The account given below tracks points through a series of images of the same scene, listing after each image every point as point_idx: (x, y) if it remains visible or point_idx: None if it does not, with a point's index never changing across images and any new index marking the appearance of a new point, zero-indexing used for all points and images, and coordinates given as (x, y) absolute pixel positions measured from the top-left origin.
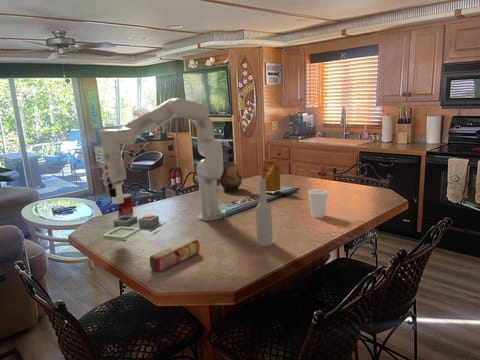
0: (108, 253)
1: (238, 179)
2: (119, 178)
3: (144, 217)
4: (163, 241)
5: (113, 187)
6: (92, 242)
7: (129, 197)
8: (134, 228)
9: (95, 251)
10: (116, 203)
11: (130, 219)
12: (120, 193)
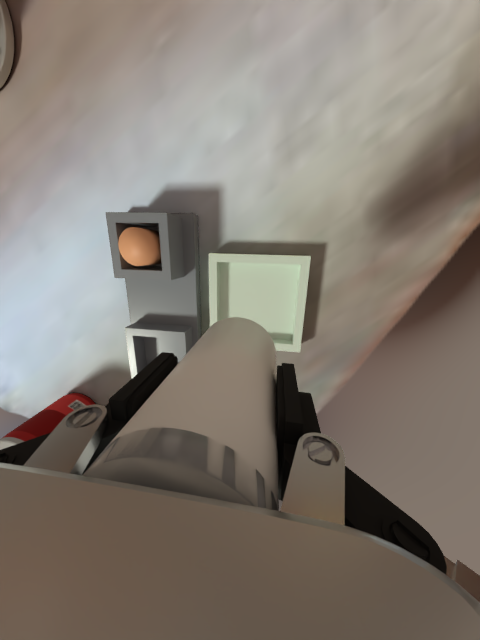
0: (426, 242)
1: None
2: (117, 575)
3: (150, 260)
4: (281, 75)
5: (311, 451)
6: (327, 365)
7: (17, 435)
8: (216, 274)
9: (407, 304)
10: (273, 345)
11: (160, 332)
12: (234, 350)
